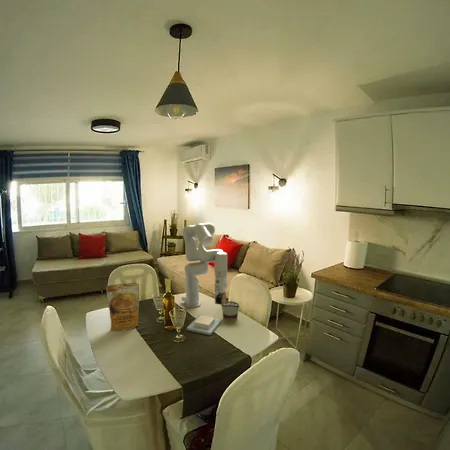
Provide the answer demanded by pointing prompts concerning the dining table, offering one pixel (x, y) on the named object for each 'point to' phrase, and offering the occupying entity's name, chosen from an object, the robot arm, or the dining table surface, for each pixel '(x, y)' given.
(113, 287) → the pancake mix bag
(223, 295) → the walnut block
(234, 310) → the food container
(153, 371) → the dining table surface
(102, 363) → the dining table surface
